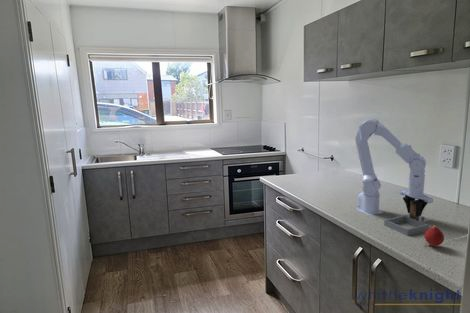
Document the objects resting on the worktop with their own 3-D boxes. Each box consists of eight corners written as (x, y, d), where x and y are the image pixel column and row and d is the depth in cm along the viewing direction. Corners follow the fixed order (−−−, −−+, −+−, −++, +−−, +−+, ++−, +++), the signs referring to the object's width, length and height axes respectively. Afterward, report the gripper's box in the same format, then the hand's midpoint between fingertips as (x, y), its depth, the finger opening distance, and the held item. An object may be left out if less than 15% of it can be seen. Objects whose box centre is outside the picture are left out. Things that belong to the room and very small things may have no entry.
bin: (384, 226, 129) (384, 219, 128) (404, 222, 133) (404, 215, 132) (407, 237, 118) (407, 229, 118) (428, 231, 122) (428, 224, 122)
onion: (435, 242, 113) (437, 222, 112) (446, 249, 107) (448, 228, 106) (420, 243, 113) (421, 222, 112) (430, 250, 107) (432, 229, 106)
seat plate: (397, 217, 138) (397, 214, 137) (412, 214, 141) (412, 211, 140) (415, 224, 129) (415, 221, 129) (430, 221, 132) (431, 217, 132)
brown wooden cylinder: (406, 217, 136) (407, 200, 134) (414, 216, 137) (415, 198, 136) (413, 220, 132) (414, 202, 131) (421, 218, 134) (423, 201, 133)
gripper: (439, 187, 127) (436, 218, 129) (408, 179, 140) (406, 207, 143) (426, 189, 125) (424, 221, 127) (397, 181, 138) (395, 210, 140)
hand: (414, 214), depth 135 cm, fingers closed on brown wooden cylinder, 4 cm apart
